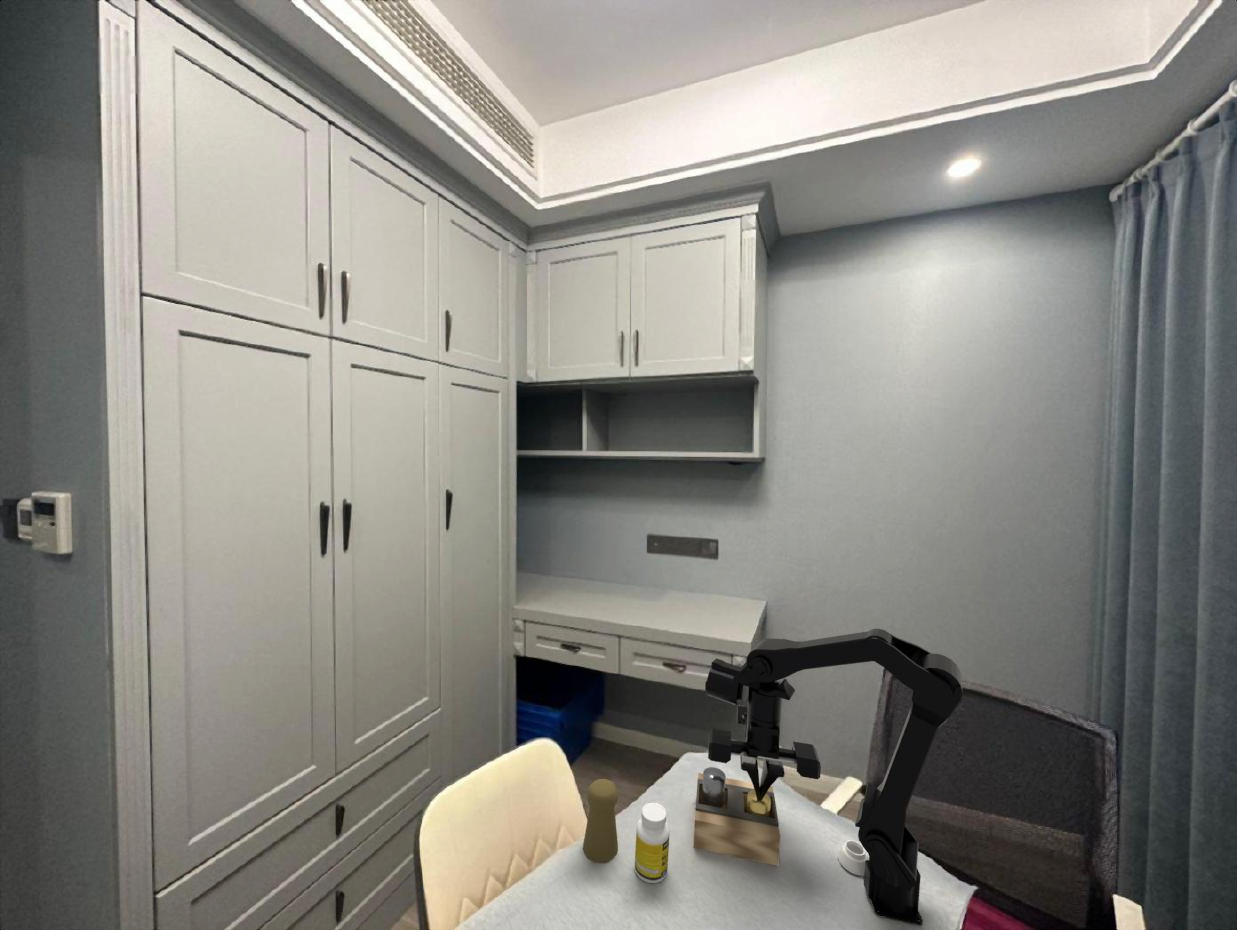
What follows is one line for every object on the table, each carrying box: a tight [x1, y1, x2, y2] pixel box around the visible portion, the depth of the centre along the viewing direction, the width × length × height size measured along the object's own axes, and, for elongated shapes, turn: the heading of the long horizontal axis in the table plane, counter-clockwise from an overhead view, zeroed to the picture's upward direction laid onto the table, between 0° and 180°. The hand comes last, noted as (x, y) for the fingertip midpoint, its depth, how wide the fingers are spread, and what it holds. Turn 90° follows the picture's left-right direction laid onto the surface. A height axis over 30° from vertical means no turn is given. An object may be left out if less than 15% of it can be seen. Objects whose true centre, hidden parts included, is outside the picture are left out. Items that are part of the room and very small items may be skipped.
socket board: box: [693, 772, 781, 867], centre depth 86 cm, size 14×12×5 cm
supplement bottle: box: [634, 802, 671, 884], centre depth 77 cm, size 5×5×10 cm
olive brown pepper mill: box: [582, 778, 619, 864], centre depth 81 cm, size 6×6×11 cm
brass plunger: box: [747, 790, 771, 817], centre depth 85 cm, size 4×4×5 cm
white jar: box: [837, 839, 869, 877], centre depth 80 cm, size 5×3×5 cm
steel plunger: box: [702, 766, 727, 808], centre depth 87 cm, size 4×4×5 cm
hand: (759, 798), depth 85 cm, fingers closed, pressing on brass plunger
